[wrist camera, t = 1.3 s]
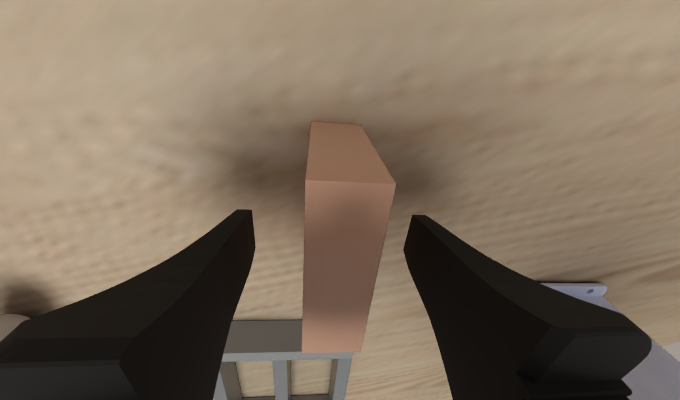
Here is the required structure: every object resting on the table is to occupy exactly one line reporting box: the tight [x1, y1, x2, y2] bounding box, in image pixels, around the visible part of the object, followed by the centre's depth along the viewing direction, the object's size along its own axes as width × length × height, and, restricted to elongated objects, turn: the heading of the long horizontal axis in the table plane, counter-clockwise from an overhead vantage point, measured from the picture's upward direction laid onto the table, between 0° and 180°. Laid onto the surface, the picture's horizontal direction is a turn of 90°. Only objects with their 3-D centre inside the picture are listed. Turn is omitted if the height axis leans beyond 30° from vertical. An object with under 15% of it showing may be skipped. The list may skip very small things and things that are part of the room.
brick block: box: [302, 121, 396, 353], centre depth 12 cm, size 2×8×7 cm, turn 175°
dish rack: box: [214, 320, 353, 400], centre depth 22 cm, size 11×13×2 cm
